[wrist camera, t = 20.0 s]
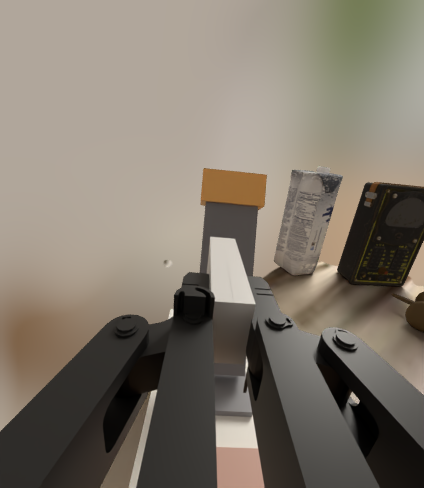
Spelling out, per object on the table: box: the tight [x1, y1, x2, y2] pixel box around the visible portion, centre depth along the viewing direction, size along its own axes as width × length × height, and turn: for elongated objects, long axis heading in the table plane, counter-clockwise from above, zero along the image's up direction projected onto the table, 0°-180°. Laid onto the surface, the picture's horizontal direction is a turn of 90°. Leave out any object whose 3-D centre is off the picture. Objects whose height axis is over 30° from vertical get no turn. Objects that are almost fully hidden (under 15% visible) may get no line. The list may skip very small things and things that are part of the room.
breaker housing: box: [129, 309, 265, 488], centre depth 23 cm, size 22×12×7 cm, turn 1°
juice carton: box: [274, 166, 343, 275], centre depth 60 cm, size 9×10×27 cm
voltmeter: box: [337, 182, 424, 286], centre depth 58 cm, size 16×9×25 cm, turn 95°
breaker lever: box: [200, 168, 267, 376], centre depth 23 cm, size 2×6×19 cm, turn 91°
